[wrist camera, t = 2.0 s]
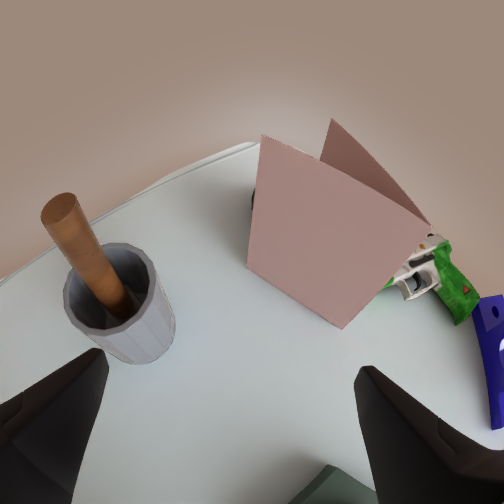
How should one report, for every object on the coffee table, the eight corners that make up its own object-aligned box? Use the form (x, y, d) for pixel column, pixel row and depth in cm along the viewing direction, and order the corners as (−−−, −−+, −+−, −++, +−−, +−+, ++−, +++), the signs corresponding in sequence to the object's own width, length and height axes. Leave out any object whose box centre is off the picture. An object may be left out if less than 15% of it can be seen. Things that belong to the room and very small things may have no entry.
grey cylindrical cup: (130, 380, 20) (90, 358, 14) (91, 320, 23) (51, 279, 16) (191, 331, 24) (177, 290, 17) (146, 278, 26) (124, 227, 20)
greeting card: (349, 326, 25) (440, 225, 13) (280, 352, 23) (341, 254, 11) (302, 237, 31) (340, 118, 19) (240, 251, 29) (250, 120, 17)
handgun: (391, 368, 23) (344, 269, 29) (472, 311, 26) (431, 239, 32) (407, 361, 20) (353, 254, 26) (486, 301, 23) (441, 226, 30)
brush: (132, 346, 21) (40, 242, 9) (115, 321, 23) (30, 208, 10) (157, 326, 23) (91, 206, 11) (139, 303, 24) (74, 178, 12)
